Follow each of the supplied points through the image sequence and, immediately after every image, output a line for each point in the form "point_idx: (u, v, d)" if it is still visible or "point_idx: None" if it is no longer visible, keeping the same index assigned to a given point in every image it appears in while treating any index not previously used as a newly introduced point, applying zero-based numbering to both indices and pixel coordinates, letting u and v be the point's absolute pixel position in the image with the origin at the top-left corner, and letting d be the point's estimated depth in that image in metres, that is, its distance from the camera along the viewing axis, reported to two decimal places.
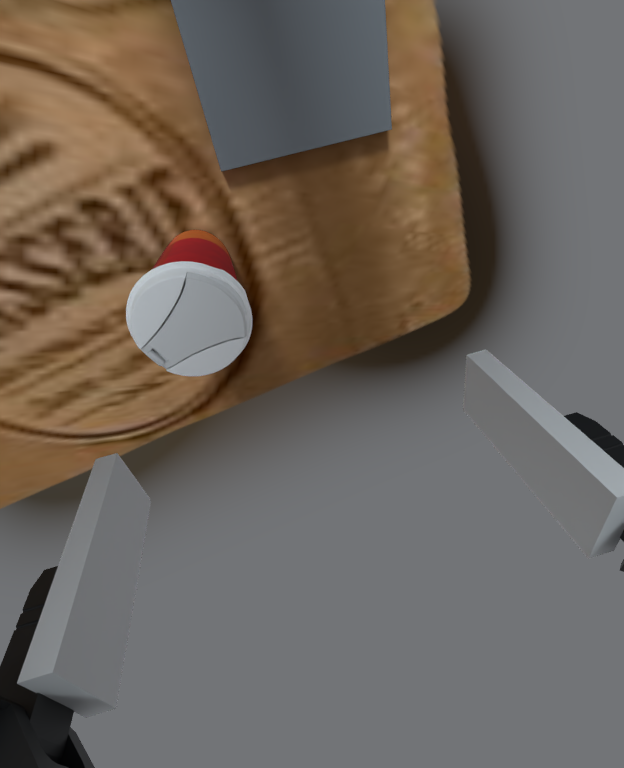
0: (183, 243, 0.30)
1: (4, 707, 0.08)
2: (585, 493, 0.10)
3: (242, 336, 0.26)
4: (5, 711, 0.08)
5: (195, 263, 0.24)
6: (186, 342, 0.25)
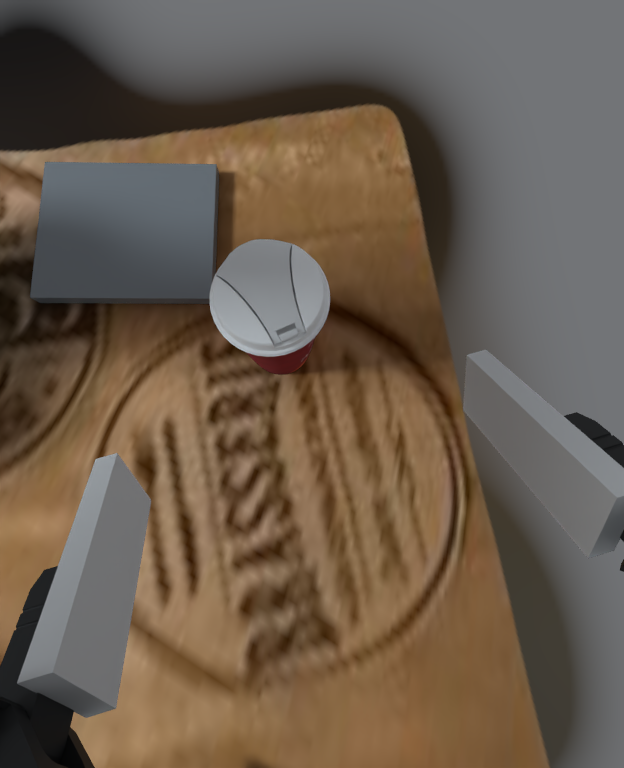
0: None
1: (4, 707, 0.08)
2: (585, 493, 0.10)
3: (290, 246, 0.25)
4: (5, 711, 0.08)
5: (216, 273, 0.26)
6: (279, 298, 0.25)
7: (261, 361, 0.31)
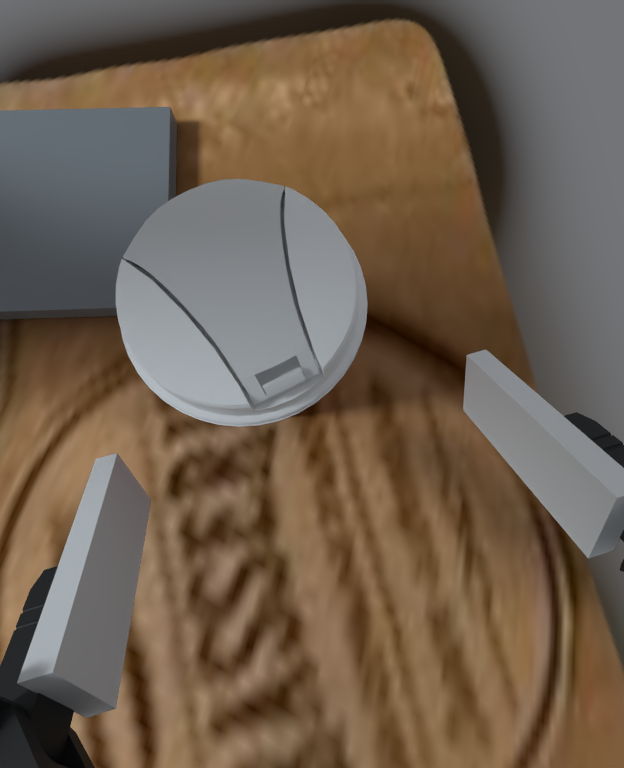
0: None
1: (4, 707, 0.08)
2: (585, 493, 0.10)
3: (281, 191, 0.12)
4: (5, 711, 0.08)
5: None
6: (260, 303, 0.11)
7: None
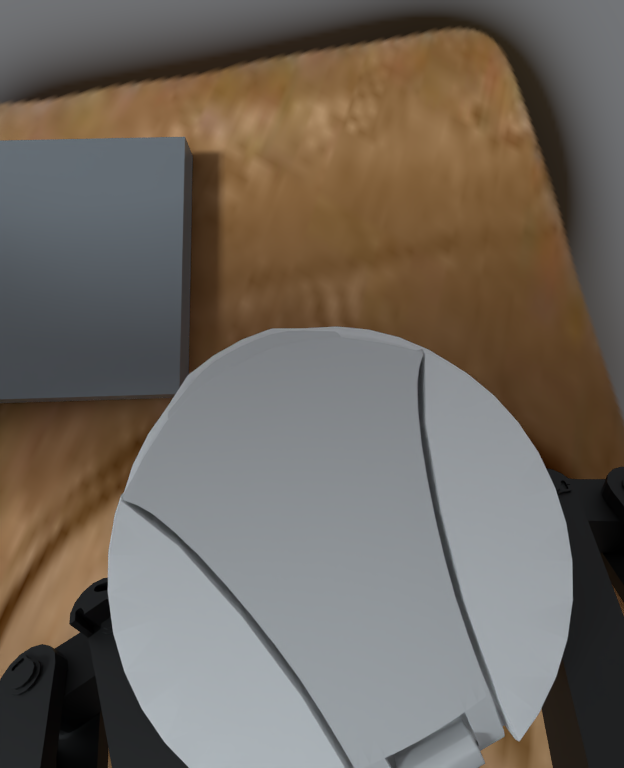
0: None
1: None
2: None
3: (415, 360, 0.06)
4: None
5: (139, 454, 0.07)
6: (390, 597, 0.06)
7: None
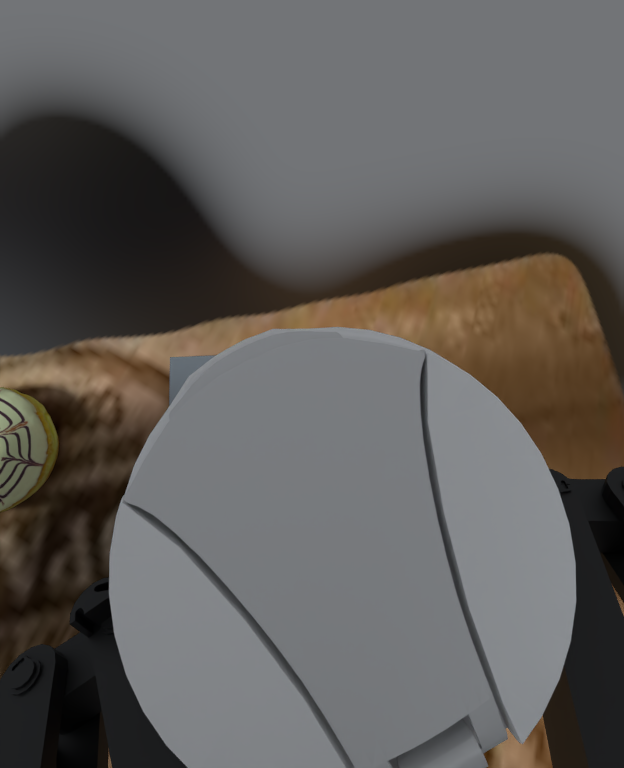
0: None
1: None
2: None
3: (418, 361, 0.06)
4: None
5: (140, 456, 0.07)
6: (392, 599, 0.06)
7: None
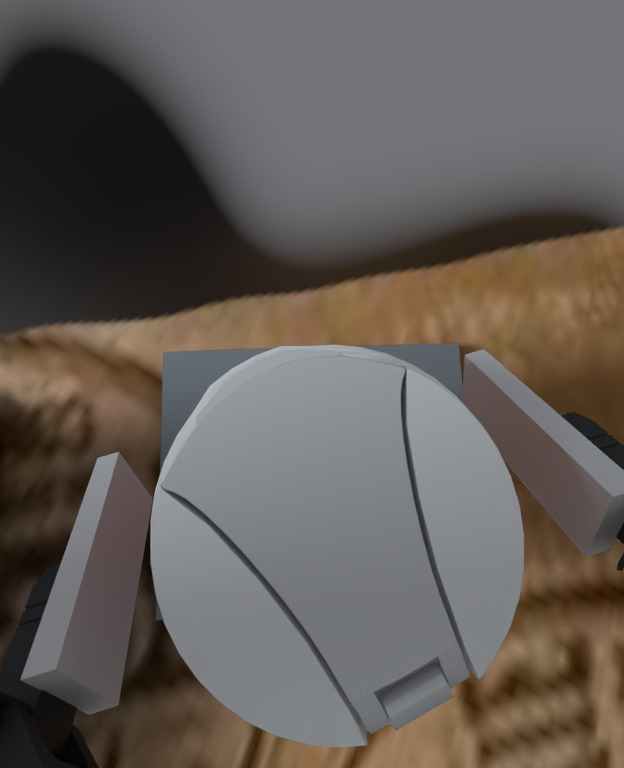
0: None
1: (8, 704, 0.08)
2: (581, 492, 0.10)
3: (399, 374, 0.08)
4: (9, 707, 0.08)
5: (169, 452, 0.09)
6: (378, 565, 0.07)
7: None
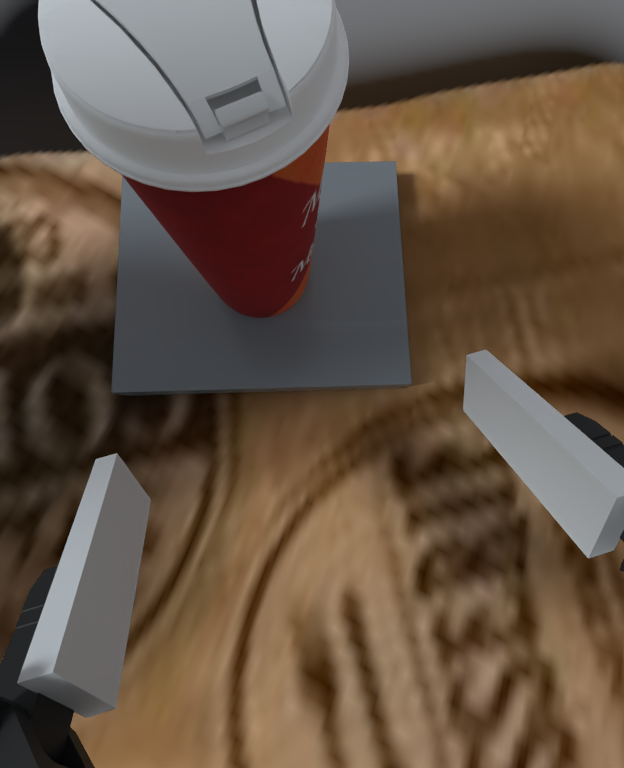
0: None
1: (4, 707, 0.08)
2: (585, 493, 0.10)
3: None
4: (5, 711, 0.08)
5: None
6: (215, 20, 0.09)
7: (209, 261, 0.16)
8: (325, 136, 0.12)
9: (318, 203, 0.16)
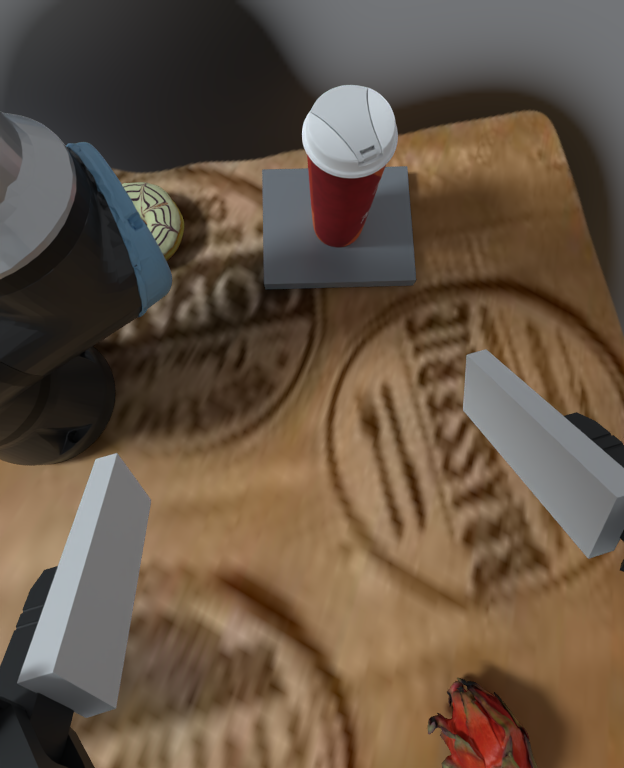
0: None
1: (4, 707, 0.08)
2: (585, 493, 0.10)
3: (366, 89, 0.32)
4: (5, 711, 0.08)
5: (306, 118, 0.33)
6: (360, 127, 0.31)
7: (334, 208, 0.38)
8: None
9: (378, 185, 0.38)
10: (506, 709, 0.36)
